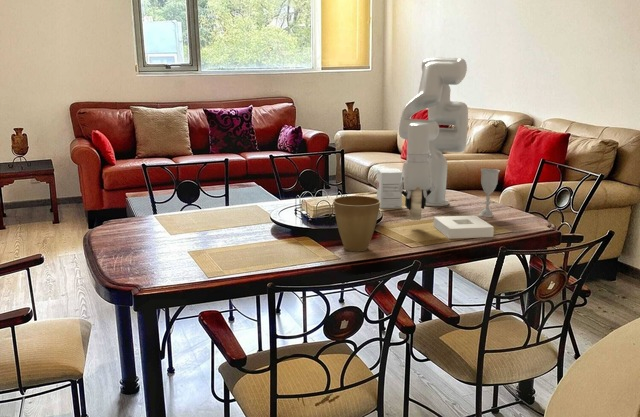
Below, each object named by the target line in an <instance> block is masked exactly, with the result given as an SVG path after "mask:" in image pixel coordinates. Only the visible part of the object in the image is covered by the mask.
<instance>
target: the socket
mask: <svg viewBox="0 0 640 417" xmlns="http://www.w3.org/2000/svg"><path fill="white" fill-rule="evenodd" d="M433 227H434V229H435V228H436V230H437V231H439V232H440V233H441V234H443V235H444V236H445V237H446V238H448V239H449V240H453V239H470V238H471V239H472V238H473V239H475V238H477V239H478V238H494V231H495V227H494V226H493V225H491V224H490V223H489V222H486V221H485V220H483V219H482V218H480V217H478V216H477V215H474V214H473V215H450V216H448V215H447V216H444V215H443V216H433Z"/></svg>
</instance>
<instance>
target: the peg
mask: <svg viewBox="0 0 640 417" xmlns="http://www.w3.org/2000/svg"><path fill="white" fill-rule="evenodd" d="M410 199H411V209H410V210H409V209H408V219H409V220H412V221H414V220H415V221H418V220H419V221H420V220H422V190H420V187H417V188H416V190H412V191H411V195H410Z"/></svg>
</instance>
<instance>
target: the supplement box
mask: <svg viewBox="0 0 640 417" xmlns="http://www.w3.org/2000/svg"><path fill="white" fill-rule="evenodd" d="M401 176H402V169H401V170H400V169H399V168H377V179H376V180H377V181H376V198H377V199H379V200H380V207H379V209H402V207H403V206H402V205H403V202H402V201H403V194H402V193H400V192H399V191H398V190H397V187H398V186H399V184H400V183H401Z"/></svg>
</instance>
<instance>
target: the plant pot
mask: <svg viewBox="0 0 640 417" xmlns="http://www.w3.org/2000/svg"><path fill="white" fill-rule="evenodd" d="M333 208H334V209H333V210H334V214H335V220H336V224H337V229H338V233H339V236H340V239H341V242H342V245H343V247H344V250H346V251H349V252H365V251H367V250H368V248H369V245H370V243H371V240H372V238H373V235H374V232H375V228H376V225H377V221H378V218H379V217H378V216H379V211H380V200H379V199H377V197H372V196H365V195H343V196H339V197H336V198H333Z"/></svg>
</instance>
